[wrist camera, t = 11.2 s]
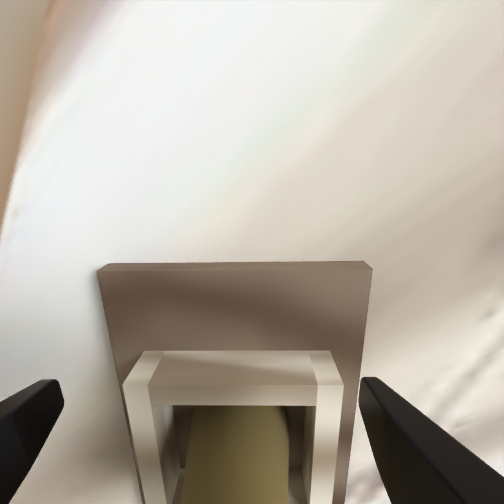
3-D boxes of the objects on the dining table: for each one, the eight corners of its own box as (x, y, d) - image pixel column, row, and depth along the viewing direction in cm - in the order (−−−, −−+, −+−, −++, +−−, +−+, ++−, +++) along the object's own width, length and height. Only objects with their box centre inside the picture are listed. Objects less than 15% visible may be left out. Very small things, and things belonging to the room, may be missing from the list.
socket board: (336, 510, 20) (352, 582, 17) (153, 507, 21) (132, 577, 17) (363, 261, 14) (398, 290, 11) (109, 263, 15) (62, 292, 11)
